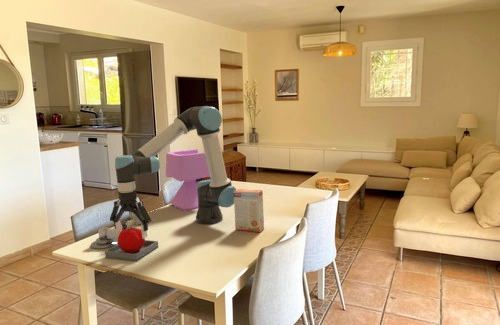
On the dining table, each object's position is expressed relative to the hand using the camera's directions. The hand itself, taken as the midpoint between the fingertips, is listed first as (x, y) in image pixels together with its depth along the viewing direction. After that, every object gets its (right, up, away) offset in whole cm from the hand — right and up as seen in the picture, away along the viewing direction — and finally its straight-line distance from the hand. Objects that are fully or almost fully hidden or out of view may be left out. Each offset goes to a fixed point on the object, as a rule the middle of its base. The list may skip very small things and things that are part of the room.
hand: (132, 236), depth 169 cm
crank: (-12, -3, +12) cm, 17 cm away
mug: (-11, -1, +45) cm, 47 cm away
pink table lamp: (+14, +5, +79) cm, 81 cm away
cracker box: (+53, -2, +26) cm, 59 cm away
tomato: (0, -7, +1) cm, 7 cm away
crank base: (-17, -6, +13) cm, 22 cm away
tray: (0, -7, +1) cm, 7 cm away
